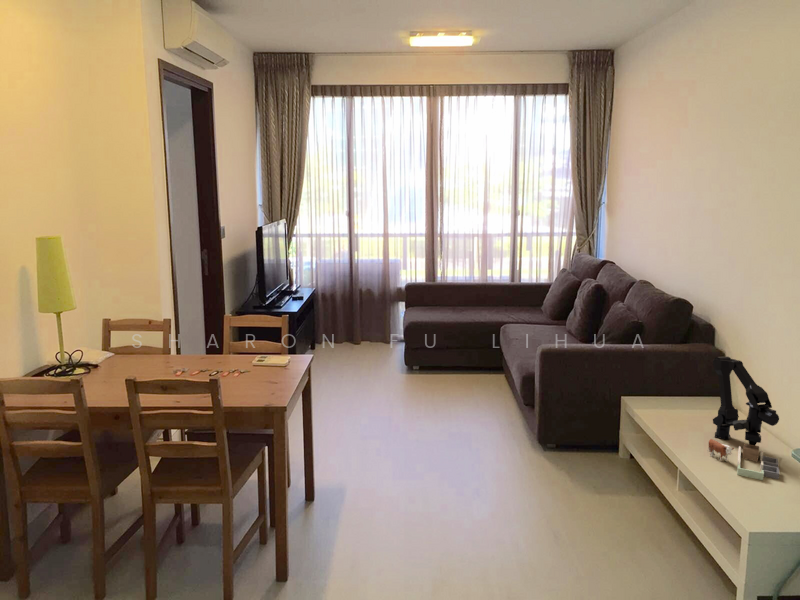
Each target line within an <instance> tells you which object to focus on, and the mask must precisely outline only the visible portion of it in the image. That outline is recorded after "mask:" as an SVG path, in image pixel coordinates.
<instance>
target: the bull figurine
mask: <svg viewBox="0 0 800 600" xmlns="http://www.w3.org/2000/svg"><path fill="white" fill-rule="evenodd" d="M734 449H735V448H734V447H731V446H729V445H728V444H725V443H724V444H723V443H721V442H719V441H718V440H717V441H716V440H714V439H712V438H710V439H709V441H708V452H709V453H710V456H711V457H712V458H713V457H714V455H715V453H716V454H720V456H719V457H720V458H719V461H720V462H722V461H723V460H722V459H723V457H725V462H727V463H729V460H728V456H729V455H732V451H733V450H734Z"/></svg>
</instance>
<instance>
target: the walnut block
mask: <svg viewBox="0 0 800 600" xmlns="http://www.w3.org/2000/svg"><path fill="white" fill-rule="evenodd" d="M759 456H760V446H759V445H757V444H756V445H750V444H749V443H743V449H742V456H741V457H742V459H745V460H751V461H754V462H759V461H758V460H759Z"/></svg>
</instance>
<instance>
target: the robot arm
mask: <svg viewBox="0 0 800 600" xmlns="http://www.w3.org/2000/svg"><path fill="white" fill-rule="evenodd" d="M712 365H713V370H714V371H715V373H716V375H717V376H718V377H717V378H718V387H719V397H720V398H719V399H720V406H719V408H718V410H717V416H715V417H714V418H712V423H713V424H714V425H715V426H716V431H715V432H714V438H715V439H716V438H717V439H723V440H728V441H730V439H731V435H730V432H731V427H732V426H733V429H734V431H741V430H745V431H744V433H745V434H744V436H745V437H744V440H745V441H748V444H750V445H756V446H757V444H759V443H762V435H761V433H762V425H763V423H765V424H767V425H769V426H772V427H773V426H775V425H777V424H778V423H779V421H780V416H779V414H778V413H777V410H775V409H773V406H772V402H771V400H770V398H769V394H768V392H767V391H765V389H764V388H763V387H762V386H760V385H759V384H757V382H755V381H754V378H752V376H751V375H750V373H749V371H748V370H747V368H745V366H744V363H743V361H742V360H740V359H739V360H738V359H735V358H734V359H733V358H731V357H730V356H716V357H715V358H714V359H713V360H712ZM732 372H734V375H736V377H737V379H738V380H739V381H740V383H741V385H742V386H743V387H744V389H745V396H746V398H747V400H748V402H746V403H745V405H746V406H748V414H747V417H746V419H739V418H740V416H739V410H738V408H735V406H734V405H733V397H732V383H731V373H732Z"/></svg>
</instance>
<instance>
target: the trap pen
mask: <svg viewBox="0 0 800 600" xmlns="http://www.w3.org/2000/svg"><path fill="white" fill-rule="evenodd" d="M741 452H742V447H741V446H740V445H739V446H738V451H737V472H736V475H737V476H741V477H746V478H750V479H755V480H761V481H764V478H765V477H766V478H770V479H775V480H779V479H780V467H779V459H778V458H777V457H772V456H766V455H764V451H763V450H760V452H759V460H760V467H759V468H760V471H757V470H752V469H748V468H747V469H746V468H742V467H741V457H742V455H741Z"/></svg>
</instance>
